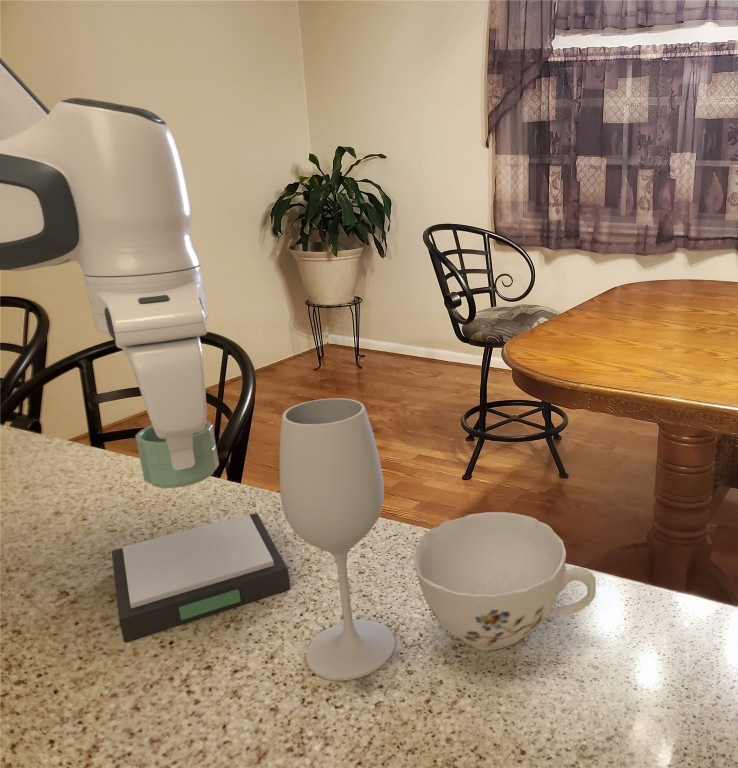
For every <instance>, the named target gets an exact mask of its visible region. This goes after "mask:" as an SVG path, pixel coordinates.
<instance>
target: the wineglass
mask: <svg viewBox="0 0 738 768" xmlns="http://www.w3.org/2000/svg"><path fill="white" fill-rule="evenodd" d="M279 437H280V438H279V493H280V494H279V495H280V500H281V507H282V510H283V515H284V518H285V520H286V521H287V522H288V523H287V524H289V526H290V528H291V529H292V530H293V532H294V533H295V534H296V535H297V536H298V537H300V538H301V539H302V540H303V541H305V542H306V543H308V544H309V545H310V546H313V547H315V548H317V549H319V550H322V551H324V552H326V553H330V555H331V556H332V557H333V558H334V561H335V564H336V567H337V568H336V569H337V578H338V586H339V594H340V603H341V604H340V605H341V612H342V619H343V622H339V623H336V624H335V625H332V626H330V627H328V628H326V629H324V630H323V631H322V632H320V633H318V634H317V635H316V636H315V637H314V638H313V639H312V640H311V642H310V644H308V647H307V649H306V653H305V659H306V665H307V666H308V668H309V671H311V672H312V673H313V674H314V675H316V676H318V677H320V678H321V679H324V680H330V681H350V680H351V681H352V680H357V679H359V678H362V677H365V676H369V675H371V674H372V673H375V672H376V671H377V670H379V669H380V668H382V667H383V666H385V665H386V663H388V661H389V660H390V659H391V658H392V656H393V653H394V652H395V649H396V639H395V634H394V633H393V631H392V630H391V629H390V628H389V627H388V626H386V625H385V624H384V623H381V622H378V621H375V620H370V619H353V611H352V604H351V595H350V594H351V593H350V585H349V576H348V567H347V563H348V554H349V552H350V550H352V549H353V548H354V547H355V546H356V545H357V544H359V542H361V541H362V540H363V539H364V538H365V537H366V536H367V535H368V534H369V533H370V531H372V529H373V527H374V526H375V525H376V524H377V522H378V520H379V519H380V515H381V513H382V510H383V506H384V499H385V483H384V475H383V470H382V466H381V465H382V463H381V459H380V455H379V450H378V447H377V443H376V438H375V435H374V431H373V428H372V425H371V421H370V418H369V415H368V412H367V409H366V407H365V405H364V404H363V403H362V402H361V401H358V400H356V399H350V398H343V397H338V398H337V397H336V398H335V397H334V398H333V397H332V398H320V399H314V400H309V401H305V402H301V403H299V404H295V405H293V406H291V407H289V408H287V409H286V410H284V412H283V413H282V416H281V423H280V435H279Z"/></svg>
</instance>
